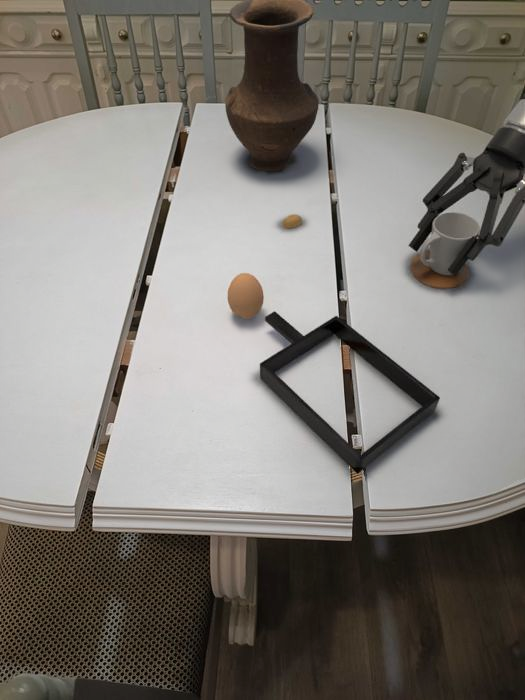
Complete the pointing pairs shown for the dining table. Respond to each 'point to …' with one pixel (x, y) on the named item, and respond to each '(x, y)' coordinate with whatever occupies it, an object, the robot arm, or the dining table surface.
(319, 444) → the dining table surface
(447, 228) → the cup
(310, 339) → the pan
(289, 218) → the potato
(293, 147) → the vase
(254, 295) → the egg
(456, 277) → the coaster
